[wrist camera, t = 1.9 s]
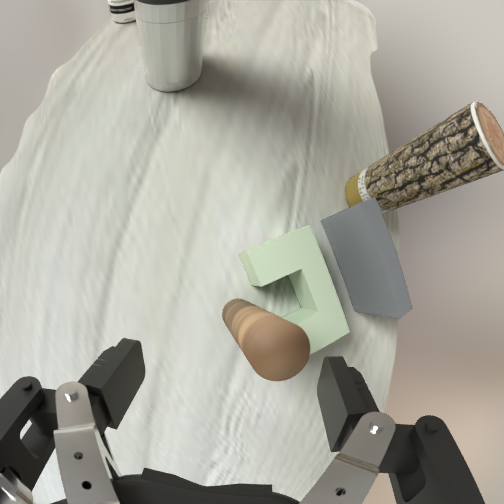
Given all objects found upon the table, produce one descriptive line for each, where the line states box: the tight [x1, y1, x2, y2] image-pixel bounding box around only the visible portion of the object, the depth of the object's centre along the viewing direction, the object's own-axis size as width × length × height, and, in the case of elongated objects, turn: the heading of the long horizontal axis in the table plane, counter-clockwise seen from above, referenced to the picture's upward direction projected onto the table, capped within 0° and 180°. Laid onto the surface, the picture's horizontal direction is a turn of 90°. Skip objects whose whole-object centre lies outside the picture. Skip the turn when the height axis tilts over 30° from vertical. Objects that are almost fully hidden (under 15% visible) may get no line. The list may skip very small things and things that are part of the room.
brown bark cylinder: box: [346, 101, 504, 213], centre depth 27 cm, size 7×7×25 cm
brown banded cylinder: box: [222, 299, 310, 381], centre depth 25 cm, size 4×4×18 cm
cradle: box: [239, 224, 350, 355], centre depth 32 cm, size 14×8×6 cm, turn 23°
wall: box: [321, 197, 412, 319], centre depth 32 cm, size 14×2×10 cm, turn 23°
